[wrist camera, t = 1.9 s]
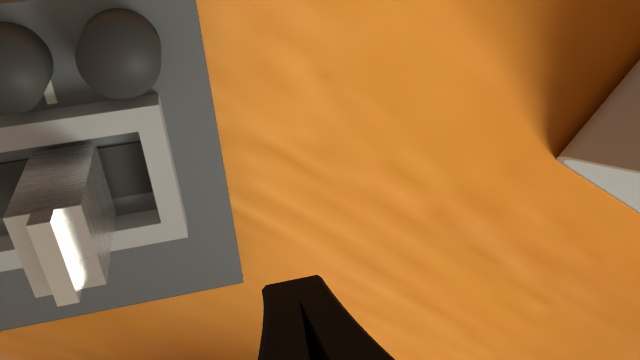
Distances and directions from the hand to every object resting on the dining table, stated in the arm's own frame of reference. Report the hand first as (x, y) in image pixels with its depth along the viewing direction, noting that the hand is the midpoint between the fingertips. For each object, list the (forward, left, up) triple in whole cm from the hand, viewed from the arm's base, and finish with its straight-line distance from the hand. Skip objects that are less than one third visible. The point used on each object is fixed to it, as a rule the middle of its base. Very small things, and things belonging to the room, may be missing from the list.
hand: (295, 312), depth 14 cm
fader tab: (0, +6, -8) cm, 10 cm away
